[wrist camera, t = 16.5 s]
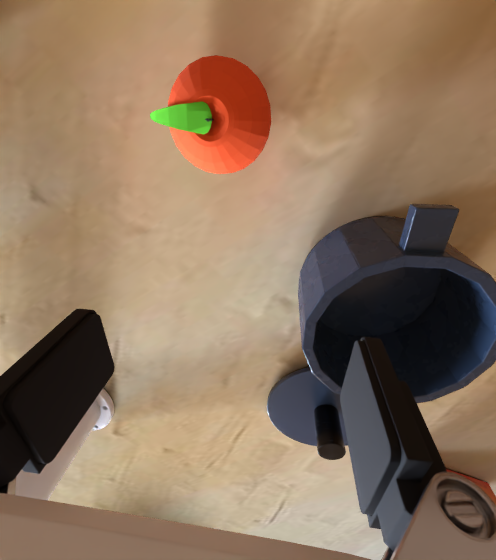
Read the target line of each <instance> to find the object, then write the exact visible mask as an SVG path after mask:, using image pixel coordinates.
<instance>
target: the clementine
mask: <svg viewBox="0 0 496 560" xmlns="http://www.w3.org/2000/svg"><path fill="white" fill-rule="evenodd" d="M150 118H151V119H152V120H153V121H155V122H157V123H160V124H163V125H166V126H169V127H170V131H171V134H172V137H173V139H174V141H175V143H176V146H177V147H178V149H179V150H180V151H181V153H182V154H183V155H184V157H185V158H186V159H187V160H189V161H190V162H191V163H192V164H193V165H194V166H196V167H198V168H200V169H202V170H204V171H206V172H211V173H216V174H224V173H233V172H236V171H239V170H241V169H244V168H245V167H247V166H248V165H249V164H251V163H252V162H253V161H255V159H256V158H257V157H258V155H259V154H260V153H261V152H262V150H263V148H264V146H265V144H266V141H267V139H268V136H269V131H270V125H271V110H270V103H269V100H268V96H267V93H266V90H265V88H264V87H263V85H262V83H261V81H260V80H259V78H258V77H257V76H256V75H255V74H254V72H253V71H252V70H251V69H250V68H249V67H248V66H246V65H244V64H243V63H241V62H239V61H237V60H235V59H233V58H228V57H223V56H217V55H215V56H209V57H202V58H200V59H198V60H196V61H195V62H193V63H191V64H189V65H188V66H187V67H186V68H185V69H184V70H183V71H182V72H181V73H180V74H179V76H178V78H177V79H176V81H175V83H174V85H173V87H172V90H171V93H170V97H169V101H168V107H166V108H162V109H159V110H156V111H154V112H152V113H151V114H150Z"/></svg>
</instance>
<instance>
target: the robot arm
mask: <svg viewBox="0 0 496 560" xmlns="http://www.w3.org/2000/svg"><path fill="white" fill-rule="evenodd" d="M113 372H114V363H113V359H112V356H111V353H110V349H109V346H108V342H107V339H106V335H105V332H104V328H103V325H102V321H101V318H100V316H99V315H98V314H97V313H96V312H95V311H94V310H88V309H76V310H74V311H73V312H72V313H71V314H70V315H69V316H67V317H66V318H65V319H64V320H63V321H62V322H61V323H60V324H58V325H57V326H56V327H55V328H54V329H53V330H52V331H51V332H49V333H48V334H47V335H46V336H45V337H44V338H43V339H42V340H40V341H39V342H38V343H37V344H36V345H35V346H34V347H33V348H31V349H30V350H29V351H28V352H27V353H26V354H25V355H24V356H22V357H21V358H20V359H19V360H18V361H17V362H16V363H15V364H13V365H12V366H11V367H10V368H9V369H8V370H7V371H6V372H4V373H3V374H2V375H1V376H0V560H371V559H367V558H363V557H359V556H355V555H351V554H347V553H342V552H337V551H332V550H327V549H322V548H317V547H312V546H307V545H302V544H297V543H291V542H286V541H281V540H275V539H270V538H264V537H258V536H252V535H247V534H241V533H235V532H230V531H224V530H218V529H213V528H207V527H201V526H196V525H190V524H184V523H178V522H172V521H166V520H160V519H155V518H149V517H143V516H137V515H131V514H125V513H119V512H113V511H107V510H102V509H96V508H90V507H84V506H78V505H71V504H65V503H59V502H53V501H48V499H49V497H50V496H51V494H52V493H53V491H54V489H55V488H56V486H57V485H58V483H59V482H60V480H61V478H62V477H63V475H64V474H65V472H66V470H67V469H68V467H69V466H70V464H71V463H72V461H73V459H74V458H75V456H76V455H77V453H78V451H79V450H80V448H81V447H82V445H83V444H84V442H85V440H86V439H87V437H88V436H89V434H90V432H91V431H93V430H98V429H101V428H103V427H105V426H106V425H107V424H109V422H110V420H111V419H112V417H113V415H114V404H113V401H112V399H111V397H110V396H109V394H108V393H107V392H106V391H105V390H104V389H103V388H104V386H105V385H106V383H107V382H108V380H109V379H110V377H111V376H112V374H113ZM340 402H341V408H342V413H343V419H344V424H345V430H346V435H347V441H348V446H349V451H350V457H351V462H352V468H353V473H354V479H355V484H356V489H357V495H358V500H359V505H360V509H361V512H362V513H363V514H367V516H368V521H369V526H370V527H371V528H377V529H381V531H382V535H383V540H384V542H385V543H386V545H387V546H388V547H387V549H386V551H385V553H384V555H383V557H382V559H381V560H496V505H495V503H494V502H493V501H492V500H491V498H490V497H489V496H488V495H487V494H486V493H485V492H484V491H483V490H482V489H481V488H480V487H478V486H477V485H476V484H475V483H474V482H472V481H470V480H469V479H467V478H465V477H463V476H461V475H458V474H455V473H453V472H447V470H446V468H445V465H444V463H443V461H442V459H441V457H440V454H439V452H438V450H437V448H436V446H435V443H434V441H433V439H432V437H431V434H430V432H429V430H428V428H427V426H426V423H425V421H424V419H423V417H422V415H421V412H420V410H419V408H418V406H417V403H416V401H415V399H414V397H413V395H412V392H411V390H410V388H409V386H408V385H407V383H406V382H405V381H399V380H398V378H397V376H396V373H395V371H394V369H393V366H392V364H391V362H390V359H389V357H388V354H387V352H386V350H385V347H384V345H383V343H382V341H381V339H379V338H369V337H362V338H361V340H360V341H355V343H354V347H353V350H352V354H351V358H350V361H349V365H348V368H347V372H346V375H345V379H344V383H343V386H342V390H341V394H340Z"/></svg>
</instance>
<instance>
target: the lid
mask: <svg viewBox="0 0 496 560" xmlns="http://www.w3.org/2000/svg"><path fill="white" fill-rule="evenodd" d="M267 411H268V415H269V417H270V420H271V421H272V423H273V424H274V426H275V427H276V428H277V429H278V430H279V431H280V432H282V433H283V434H285V435H286V436H288V437H289V438H291V439H293V440H296V441H298V442H301V443H304V444H308V445H313V446H317V450H318V454H319V455H320V456H321V457H323V458H325V459H329V460H336V459H340V458H342V457H343V456H344V455H345V453H346V451H345V446H346V445H348V441H347V435H346V430H345V424H344V419H343V413H342V408H341V402H340V394H337V393H335V392H333V391H332V390H331V389H329V388H328V387H327V386H326V385H325V384H324V383H323V382H321V381H320V380H319V379H318V378H317V377H316V376H315V375H314V374H313V373H312V371H311V369H310V367H308V368H304V369H300V370H297V371H295V372H292V373H290V374H288V375H287V376H285V377H284V378H282V379H281V380H280V381H278V382H277V383H276V384H275V386H274V387H273V388H272V390H271V392H270V394H269V397H268V402H267Z"/></svg>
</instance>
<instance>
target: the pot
mask: <svg viewBox="0 0 496 560" xmlns="http://www.w3.org/2000/svg"><path fill="white" fill-rule="evenodd" d="M458 212H459V209H458V208H456V207H454V206H452V205H434V204H410V206H409V210H408V214H407V217H406V219H404V218H398V217H390V216H375V217H368V218H363V219H359V220H355V221H352V222H350V223H347V224H345V225H343V226H341V227H339V228H337V229H335V230H333V231H332V232H331V233H329V234H328V235H326V236H325V237H324V238H323V239H322V240H321V241H319V242H318V243H317V245H316V246H315V247H314V248H313V249H312V250H311V252H310V253H309V255H308V256H307V258H306V260H305V262H304V264H303V267H302V269H301V271H300V278H299V291H298V299H299V313H300V327H301V340H302V350H303V352H304V355H305V357H306V359H307V362H308V364H309V367H310V369H311V371H312V373H313V374H314V375H315V376H316V377H317V378H318V379H319V380H320V381H321V382H323V383H324V384H325V385H326V386H327V387H328V388H329V389H331V390H332V391H333V392H335V393H337V394H341V390H342V386H343V383H344V379H345V375H346V372H347V368H348V365H349V361H350V358H351V354H352V350H353V347H354V343H355V341H360V340H361V338H362V337H369V338H379V339H381V341H382V343H383V345H384V347H385V350H386V352H387V354H388V357H389V359H390V362H391V364H392V366H393V369H394V371H395V373H396V376H397V378H398V380H399V381H405V382H406V383H407V385H408V386H409V388H410V390H411V392H412V395H413V397H414V399H415V401H416V403H421V402H428V401H430V400H431V401H432V400H435V399H437V398H439V397H442V396H444V395H447V394H449V393H451V392H454V391H456V390H459V389H461V388H464V386H467V385H468V384H469V383H471V382H472V381H473V380H474V379H476V378H477V377H478V376H479V375H481V374H482V373H483V372H484V371H486V370H487V369H488V368H489V367H491V366H492V365H493V364H494V362H495V361H496V282H495V281H494V279H493V278H492V276H491V275H490V274H489V273H487V272H486V271H485V270H483V269H482V268H481V267H479V266H478V265H477V264H475V263H474V262H473V261H471V260H470V259H468V258H467V257H466V256H464V255H463V254H462V253H460V252H459V251H458V250H456V249H455V248H454V247H452V246H451V245H450V244H448V243H447V242H448V240H449V237H450V234H451V231H452V229H453V226H454V223H455V221H456V218H457V215H458Z"/></svg>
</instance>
